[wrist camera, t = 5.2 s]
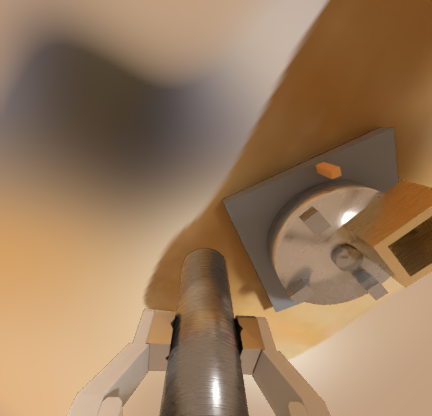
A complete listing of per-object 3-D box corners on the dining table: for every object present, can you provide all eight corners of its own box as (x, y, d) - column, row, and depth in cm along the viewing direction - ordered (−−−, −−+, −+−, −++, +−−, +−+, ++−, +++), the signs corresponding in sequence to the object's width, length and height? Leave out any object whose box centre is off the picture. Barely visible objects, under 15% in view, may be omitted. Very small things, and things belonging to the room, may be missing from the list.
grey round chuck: (310, 300, 25) (343, 354, 19) (242, 240, 21) (258, 285, 15) (411, 230, 22) (489, 269, 16) (355, 144, 18) (430, 154, 12)
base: (380, 127, 20) (421, 127, 16) (395, 256, 26) (427, 277, 22) (222, 199, 21) (226, 214, 18) (272, 303, 28) (283, 330, 24)
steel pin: (215, 241, 13) (232, 446, 5) (232, 273, 14) (271, 484, 6) (174, 258, 13) (126, 476, 5) (195, 288, 15) (182, 506, 6)
